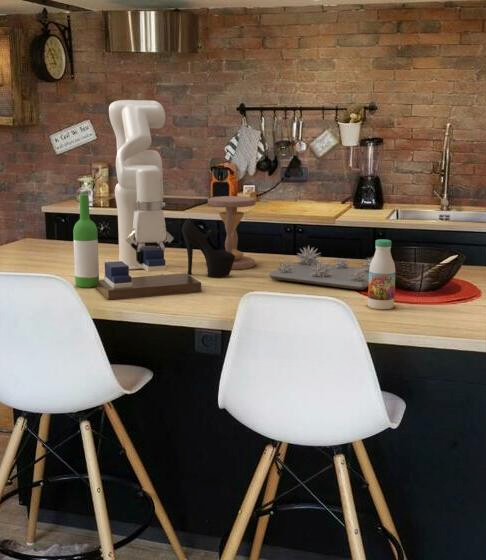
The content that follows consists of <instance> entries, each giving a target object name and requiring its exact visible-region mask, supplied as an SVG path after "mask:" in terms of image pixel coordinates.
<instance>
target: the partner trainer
mask: <svg viewBox="0 0 486 560" xmlns="http://www.w3.org/2000/svg"><path fill="white" fill-rule="evenodd" d="M131 277H132V276H131V275H130V269H129V266H128V265H126V264H125V263H123V262H122V261H119V260H118V261H104V276H103V279H104V281H106V282H107V283H108V284H109V285H110V286H111V287H112V288H113V289H116V288H128V287H133V283H132V282H131Z"/></svg>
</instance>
